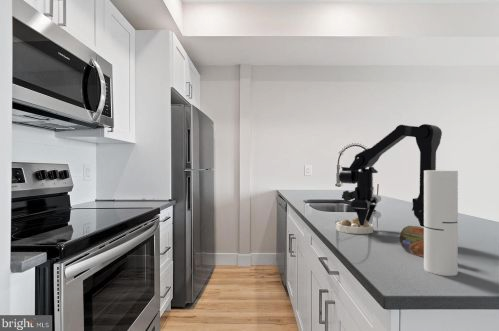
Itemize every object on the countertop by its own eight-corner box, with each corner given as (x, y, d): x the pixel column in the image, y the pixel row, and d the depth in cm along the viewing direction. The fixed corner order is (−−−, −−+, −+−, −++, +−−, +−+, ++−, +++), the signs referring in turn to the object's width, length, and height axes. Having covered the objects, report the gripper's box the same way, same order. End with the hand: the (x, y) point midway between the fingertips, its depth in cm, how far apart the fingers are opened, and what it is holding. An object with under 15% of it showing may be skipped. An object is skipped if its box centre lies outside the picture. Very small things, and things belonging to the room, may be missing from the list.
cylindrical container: (463, 276, 72) (463, 171, 72) (430, 274, 73) (430, 170, 73) (449, 266, 79) (449, 170, 79) (419, 265, 80) (419, 170, 80)
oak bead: (361, 227, 127) (363, 219, 127) (357, 228, 125) (360, 219, 124) (353, 223, 130) (355, 216, 129) (349, 224, 127) (352, 216, 126)
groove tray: (372, 235, 114) (372, 228, 114) (334, 231, 120) (334, 225, 120) (373, 228, 127) (373, 222, 127) (339, 225, 133) (338, 219, 133)
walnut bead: (350, 230, 120) (350, 220, 120) (341, 229, 121) (341, 220, 121) (351, 228, 123) (351, 219, 123) (342, 227, 124) (342, 218, 124)
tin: (399, 250, 94) (399, 223, 94) (406, 249, 95) (406, 222, 95) (448, 265, 80) (448, 233, 80) (455, 263, 82) (455, 232, 82)
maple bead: (368, 228, 123) (368, 219, 123) (370, 230, 119) (370, 220, 119) (358, 228, 123) (358, 219, 123) (360, 229, 120) (360, 220, 120)
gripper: (350, 182, 133) (350, 218, 133) (337, 185, 118) (337, 225, 118) (377, 183, 127) (377, 220, 127) (367, 186, 112) (367, 228, 112)
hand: (364, 223), depth 121 cm, fingers open, 9 cm apart
